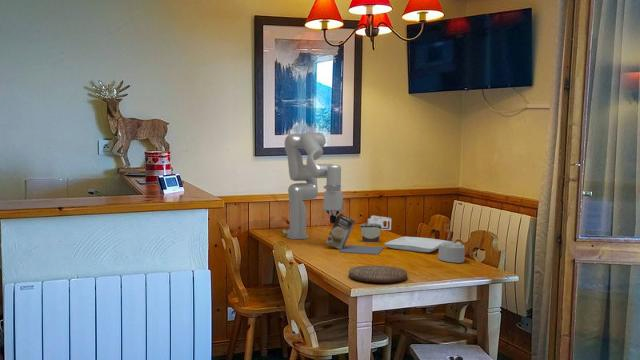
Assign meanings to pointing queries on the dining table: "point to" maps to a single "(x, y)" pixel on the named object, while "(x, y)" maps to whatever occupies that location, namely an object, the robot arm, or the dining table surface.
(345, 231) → the coffee box
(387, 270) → the trivet
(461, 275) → the dining table surface
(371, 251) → the mat
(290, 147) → the robot arm
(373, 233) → the food container
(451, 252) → the lumpy-topped squat cylinder
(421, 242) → the square plate
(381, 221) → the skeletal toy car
